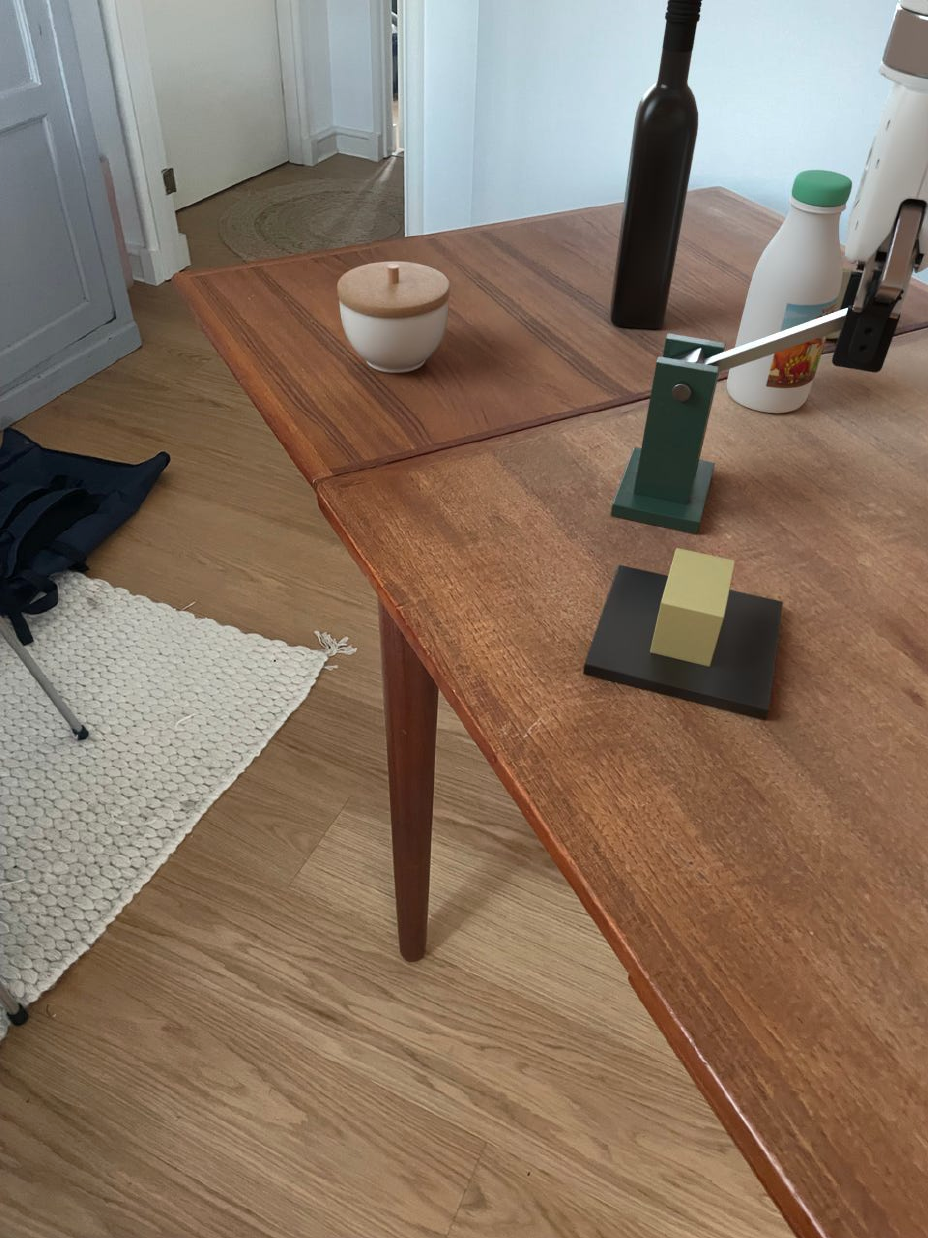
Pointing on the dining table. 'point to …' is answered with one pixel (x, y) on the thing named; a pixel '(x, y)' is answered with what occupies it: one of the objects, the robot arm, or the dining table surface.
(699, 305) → the dining table surface
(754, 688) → the board
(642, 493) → the green lever stand
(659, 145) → the wine bottle
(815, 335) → the t-handle lever
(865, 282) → the robot arm
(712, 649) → the butter
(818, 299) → the milk bottle
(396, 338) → the trinket box
